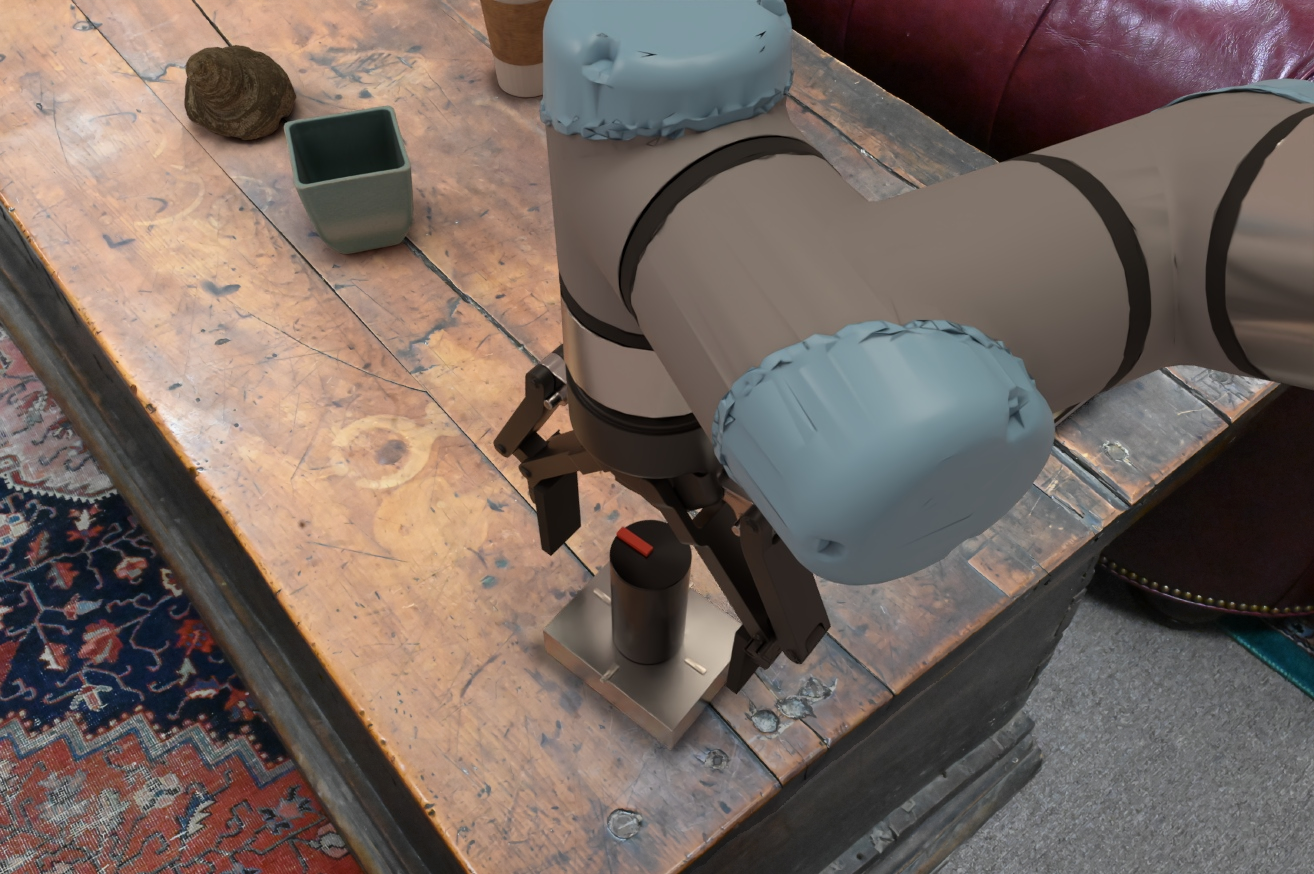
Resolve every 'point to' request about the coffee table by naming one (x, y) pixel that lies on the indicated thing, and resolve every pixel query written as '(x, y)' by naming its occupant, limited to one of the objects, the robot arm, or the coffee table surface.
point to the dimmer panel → (642, 691)
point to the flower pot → (353, 177)
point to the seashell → (237, 92)
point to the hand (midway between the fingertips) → (649, 602)
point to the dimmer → (649, 591)
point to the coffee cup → (517, 43)
